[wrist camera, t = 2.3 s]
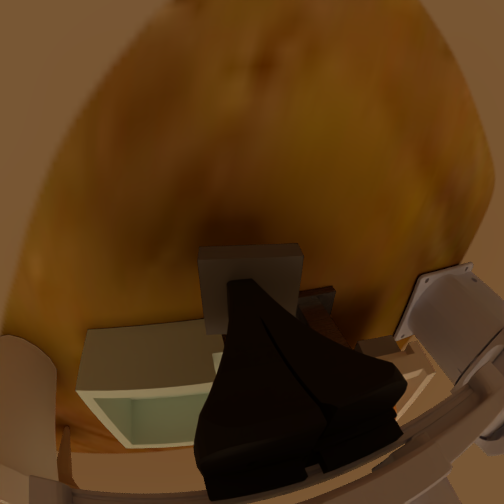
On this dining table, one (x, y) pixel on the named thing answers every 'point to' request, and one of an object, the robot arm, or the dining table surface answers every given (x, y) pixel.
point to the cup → (149, 380)
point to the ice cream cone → (65, 460)
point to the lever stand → (319, 313)
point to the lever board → (292, 303)
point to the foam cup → (25, 418)
